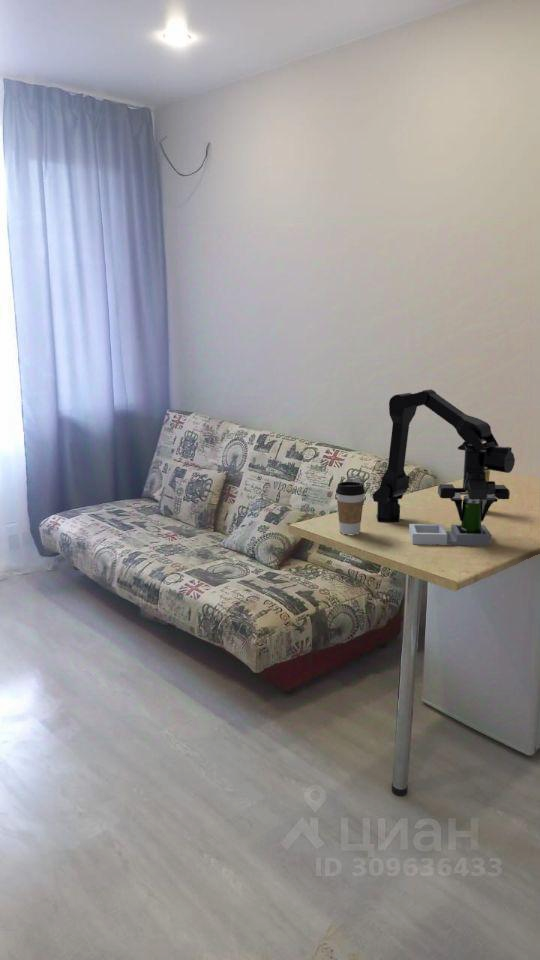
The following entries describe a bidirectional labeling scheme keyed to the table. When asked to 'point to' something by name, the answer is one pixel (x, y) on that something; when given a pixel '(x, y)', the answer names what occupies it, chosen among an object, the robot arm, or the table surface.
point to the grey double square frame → (447, 535)
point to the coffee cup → (350, 506)
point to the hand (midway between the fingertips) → (471, 520)
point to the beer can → (471, 515)
